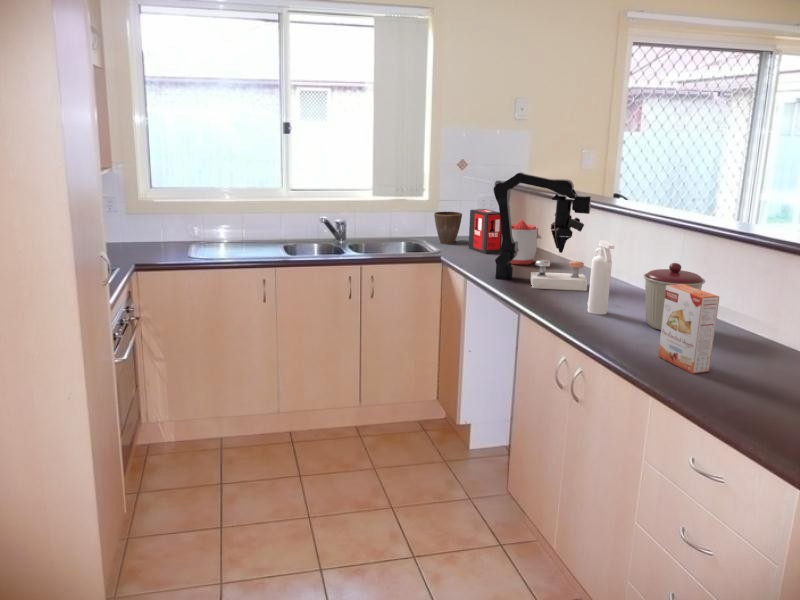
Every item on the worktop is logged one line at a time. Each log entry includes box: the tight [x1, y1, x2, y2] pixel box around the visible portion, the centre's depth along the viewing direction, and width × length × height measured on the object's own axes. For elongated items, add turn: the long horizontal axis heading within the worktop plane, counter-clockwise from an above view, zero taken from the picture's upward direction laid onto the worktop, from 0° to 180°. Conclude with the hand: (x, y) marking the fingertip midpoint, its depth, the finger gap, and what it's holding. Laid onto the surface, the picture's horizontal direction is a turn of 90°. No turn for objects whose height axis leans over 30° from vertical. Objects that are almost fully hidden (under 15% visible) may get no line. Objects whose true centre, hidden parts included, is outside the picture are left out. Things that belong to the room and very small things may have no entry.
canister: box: [643, 262, 706, 331], centre depth 216 cm, size 18×18×21 cm
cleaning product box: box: [468, 208, 502, 255], centre depth 345 cm, size 16×9×20 cm, turn 25°
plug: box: [535, 259, 551, 275], centre depth 272 cm, size 6×6×5 cm
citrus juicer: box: [510, 219, 543, 266], centre depth 316 cm, size 16×17×20 cm
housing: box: [529, 271, 588, 292], centre depth 273 cm, size 21×12×4 cm, turn 83°
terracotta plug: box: [568, 260, 585, 276], centre depth 271 cm, size 6×6×5 cm
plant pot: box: [433, 211, 463, 245], centre depth 366 cm, size 15×15×16 cm
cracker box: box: [657, 284, 720, 374], centre depth 182 cm, size 14×6×21 cm, turn 17°
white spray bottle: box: [586, 239, 615, 315], centre depth 234 cm, size 7×12×25 cm, turn 9°
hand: (559, 250), depth 276 cm, fingers open, 9 cm apart
